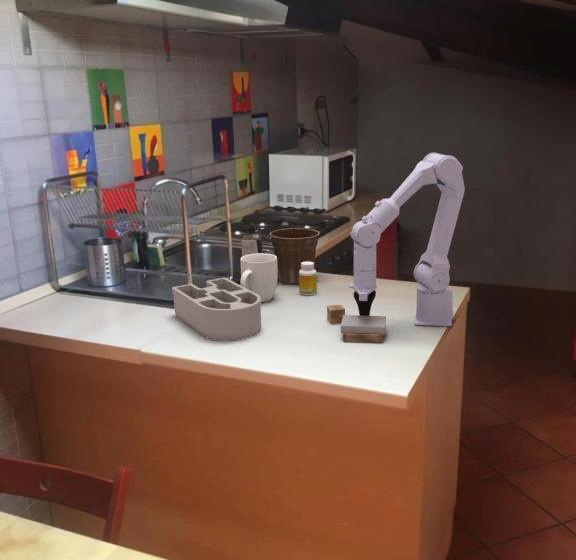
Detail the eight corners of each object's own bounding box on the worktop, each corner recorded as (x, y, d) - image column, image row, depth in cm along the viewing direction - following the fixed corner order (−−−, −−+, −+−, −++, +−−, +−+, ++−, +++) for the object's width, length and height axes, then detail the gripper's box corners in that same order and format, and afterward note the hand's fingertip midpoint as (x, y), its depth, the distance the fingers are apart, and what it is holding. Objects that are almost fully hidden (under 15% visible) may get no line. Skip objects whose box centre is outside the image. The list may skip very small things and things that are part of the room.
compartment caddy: (226, 305, 189) (224, 277, 187) (273, 333, 166) (272, 301, 164) (173, 316, 181) (171, 287, 179) (215, 347, 158) (213, 314, 156)
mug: (259, 311, 183) (257, 267, 179) (227, 305, 188) (225, 263, 184) (285, 296, 195) (283, 255, 191) (254, 292, 200) (253, 251, 197)
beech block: (341, 318, 175) (341, 304, 174) (345, 323, 171) (345, 309, 170) (327, 319, 174) (327, 305, 173) (330, 324, 171) (330, 310, 170)
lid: (385, 322, 165) (386, 316, 164) (385, 334, 157) (385, 327, 157) (343, 321, 167) (343, 315, 166) (340, 332, 159) (340, 325, 158)
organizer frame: (383, 323, 170) (383, 316, 169) (382, 343, 157) (382, 335, 156) (347, 322, 171) (347, 315, 171) (343, 341, 158) (343, 334, 158)
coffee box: (263, 288, 204) (260, 239, 199) (242, 288, 204) (240, 239, 199) (264, 280, 212) (262, 233, 208) (245, 280, 213) (242, 233, 208)
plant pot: (318, 272, 220) (317, 226, 215) (322, 286, 204) (321, 237, 199) (271, 274, 219) (269, 228, 215) (271, 288, 204) (269, 239, 199)
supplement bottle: (315, 296, 194) (314, 265, 192) (298, 295, 195) (297, 265, 193) (318, 290, 199) (317, 260, 197) (301, 290, 200) (300, 260, 198)
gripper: (351, 261, 170) (351, 309, 174) (346, 276, 156) (347, 327, 160) (378, 261, 169) (377, 309, 173) (375, 276, 155) (375, 328, 159)
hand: (364, 318), depth 166 cm, fingers closed
